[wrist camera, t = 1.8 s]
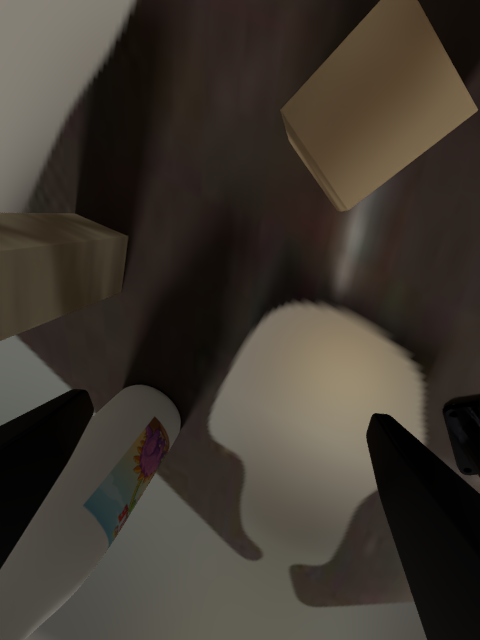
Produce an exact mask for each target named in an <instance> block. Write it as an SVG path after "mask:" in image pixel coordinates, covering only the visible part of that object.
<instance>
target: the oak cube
mask: <svg viewBox="0 0 480 640" xmlns="http://www.w3.org/2000/svg"><path fill="white" fill-rule="evenodd" d="M280 111H281V114H282V117H283V121H284V124H285V128H286V131H287V135H288V138H289V142H290V143H291V145H292V146H293V147H294V149H295V150H296V152H297V153H298V155H299V156H300V158H301V159H302V161H303V162H304V163H305V165H306V166H307V168H308V169H309V171H310V172H311V174H312V175H313V177H314V178H315V179H316V181H317V182H318V184H319V185H320V187H321V188H322V190H323V191H324V193H325V194H326V195H327V197H328V198H329V200H330V201H331V203H332V204H333V206H334V207H335V208H336V210H337V211H338V212H340V211H347V210H350V209H351V208H352V207H353V206H355V205H356V204H357V203H359V202H360V201H361V200H363V199H364V198H365V197H366V196H368V195H369V194H370V193H372V192H373V191H374V190H375V189H377V188H378V187H379V186H381V185H382V184H383V183H385V182H386V181H387V180H388V179H390V178H391V177H392V176H394V175H395V174H396V173H398V172H399V171H400V170H401V169H403V168H404V167H405V166H407V165H408V164H409V163H411V162H412V161H413V160H414V159H416V158H417V157H418V156H420V155H421V154H422V153H423V152H425V151H426V150H427V149H429V148H430V147H431V146H433V145H434V144H435V143H436V142H438V141H439V140H440V139H442V138H443V137H444V136H446V135H447V134H448V133H449V132H451V131H452V130H453V129H455V128H456V127H457V126H459V125H460V124H461V123H462V122H464V121H465V120H466V119H468V118H469V117H470V116H472V115H473V114H474V113H475V112H477V111H478V109H477V107H476V105H475V104H474V102H473V100H472V98H471V96H470V94H469V93H468V91H467V89H466V87H465V85H464V84H463V82H462V80H461V78H460V76H459V74H458V73H457V71H456V69H455V67H454V65H453V64H452V62H451V60H450V58H449V56H448V54H447V53H446V51H445V49H444V47H443V45H442V44H441V42H440V40H439V38H438V36H437V34H436V33H435V31H434V29H433V27H432V25H431V24H430V22H429V20H428V18H427V16H426V14H425V13H424V11H423V9H422V7H421V5H420V4H419V2H418V0H380V1H379V2H378V3H377V5H376V6H375V7H374V8H373V9H372V10H371V11H370V12H369V13H368V14H367V16H366V17H365V18H364V19H363V20H362V21H361V22H360V23H359V24H358V25H357V27H356V28H355V29H354V30H353V31H352V32H351V33H350V34H349V35H348V36H347V38H346V39H345V40H344V41H343V42H342V43H341V44H340V45H339V46H338V47H337V49H336V50H335V51H334V52H333V53H332V54H331V55H330V56H329V57H328V59H327V60H326V61H325V62H324V63H323V64H322V65H321V66H320V67H319V68H318V70H317V71H316V72H315V73H314V74H313V75H312V76H311V77H310V78H309V79H308V81H307V82H306V83H305V84H304V85H303V86H302V87H301V88H300V89H299V90H298V92H297V93H296V94H295V95H294V96H293V97H292V98H291V99H290V100H289V101H288V103H287V104H286V105H285V106H284V107H283V108H282V109H281V110H280Z"/></svg>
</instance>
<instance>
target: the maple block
mask: <svg viewBox="0 0 480 640" xmlns="http://www.w3.org/2000/svg"><path fill="white" fill-rule="evenodd" d="M127 243H128V236H126V235H124V234H122V233H119V232H117V231H115V230H112V229H110V228H108V227H105V226H103V225H101V224H98V223H96V222H94V221H91V220H89V219H87V218H84V217H82V216H80V215H77V214H74V213H0V341H1V340H4V339H6V338H8V337H11V336H14V335H16V334H19V333H21V332H24V331H26V330H29V329H31V328H33V327H36V326H38V325H41V324H43V323H46V322H48V321H51V320H53V319H56V318H58V317H61V316H63V315H66V314H68V313H71V312H73V311H76V310H78V309H81V308H83V307H86V306H88V305H91V304H93V303H95V302H98V301H100V300H103V299H105V298H108V297H110V296H113V295H115V294H118V293H120V292H121V291H122V283H123V275H124V267H125V259H126V251H127Z"/></svg>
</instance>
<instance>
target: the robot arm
mask: <svg viewBox="0 0 480 640" xmlns="http://www.w3.org/2000/svg"><path fill="white" fill-rule="evenodd" d="M451 412H454V413H451ZM93 413H94V407H93V404H92V401H91V399H90V396H89V394H88V392H87V391H86V390H81V389H73V390H70V391H68V392H66V393H64V394H62V395H60V396H58V397H56V398H54V399H52V400H50V401H48V402H46V403H45V404H43V405H41V406H39V407H37V408H35V409H33V410H31V411H29V412H27V413H25V414H23V415H21V416H19V417H17V418H15V419H13V420H11V421H9V422H7V423H5V424H3V425H1V426H0V569H1V568H2V566H3V565H4V563H5V561H6V560H7V558H8V557H9V555H10V554H11V552H12V550H13V549H14V547H15V546H16V544H17V542H18V541H19V539H20V538H21V536H22V535H23V533H24V531H25V530H26V528H27V527H28V525H29V523H30V522H31V520H32V519H33V517H34V516H35V514H36V512H37V511H38V509H39V508H40V506H41V504H42V503H43V501H44V500H45V498H46V497H47V495H48V493H49V492H50V490H51V489H52V487H53V485H54V484H55V482H56V481H57V479H58V478H59V476H60V474H61V473H62V471H63V470H64V468H65V466H66V465H67V463H68V461H69V460H70V458H71V456H72V454H73V452H74V450H75V448H76V446H77V445H78V443H79V441H80V439H81V437H82V435H83V433H84V431H85V429H86V427H87V425H88V423H89V421H90V419H91V418H92V415H93ZM443 415H444V419H445V423H446V427H447V430H448V434H449V438H450V442H451V445H452V449H453V453H454V456H455V460H456V464H457V467H458V469H459V470H460V472H461V473H462V474H465V475H477V474H478V475H479V477H480V401H475V402H469V403H462V404H455V405H449V406H446V407H444V408H443ZM366 438H367V443H368V448H369V453H370V457H371V461H372V466H373V470H374V475H375V479H376V483H377V488H378V492H379V496H380V499H381V503H382V506H383V509H384V512H385V515H386V518H387V521H388V524H389V527H390V530H391V533H392V536H393V539H394V542H395V545H396V548H397V551H398V554H399V557H400V560H401V563H402V566H403V569H404V572H405V575H406V578H407V581H408V584H409V587H410V590H411V593H412V596H413V599H414V602H415V605H416V607H417V611H418V614H419V617H420V619H421V623H422V626H423V629H424V632H425V635H426V638H427V640H480V494H479V493H478V492H477V491H476V490H475V489H474V488H473V487H471V486H470V485H469V484H468V483H467V482H466V481H465V480H463V479H462V478H461V477H460V476H459V475H458V474H457V473H455V472H454V471H453V470H452V469H451V468H450V467H449V466H447V465H446V464H445V463H444V462H443V461H442V460H441V459H439V458H438V457H437V456H436V455H435V454H434V453H433V452H431V451H430V450H429V449H428V448H427V447H426V446H425V445H423V444H422V443H421V442H420V441H419V440H418V439H417V438H415V437H414V436H413V435H412V434H411V433H410V432H409V431H407V430H406V429H405V428H404V427H403V426H402V425H401V424H399V423H398V422H397V421H396V420H395V419H394V418H393V417H391V416H390V415H387V414H378V413H375V414H373V415H372V417H371V420H370V423H369V426H368V430H367V434H366Z"/></svg>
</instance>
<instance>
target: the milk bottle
mask: <svg viewBox="0 0 480 640" xmlns="http://www.w3.org/2000/svg"><path fill="white" fill-rule="evenodd" d="M180 426H181V419H180V415H179V412H178V410H177V408H176V406H175V405H174V403H173V402H172V401H171V400H170V399H169V398H168V397H167V396H166V395H165V394H163V393H162V392H161V391H159V390H157V389H155V388H153V387H150V386H146V385H133V386H129V387H126V388H124V389H123V390H122V391H121V392H119V393H118V394H117V395H116V396H115V397H114V398H113V399H111V400H110V401H109V402H108V403H107V404H106V405H105V406H104V407H103V408H102V409H101V410H99V411H98V412H97V413H96V414H95V415H94V416H93V417H92V418H91V419H90V421H89V423H88V425H87V427H86V429H85V431H84V433H83V435H82V437H81V439H80V441H79V443H78V445H77V446H76V448H75V450H74V452H73V454H72V456H71V458H70V460H69V461H68V463H67V465H66V466H65V468H64V470H63V471H62V473H61V474H60V476H59V478H58V479H57V481H56V482H55V484H54V485H53V487H52V489H51V490H50V492H49V493H48V495H47V497H46V498H45V500H44V501H43V503H42V504H41V506H40V508H39V509H38V511H37V512H36V514H35V516H34V517H33V519H32V520H31V522H30V523H29V525H28V527H27V528H26V530H25V531H24V533H23V535H22V536H21V538H20V539H19V541H18V542H17V544H16V546H15V547H14V549H13V550H12V552H11V554H10V555H9V557H8V558H7V560H6V561H5V563H4V565H3V566H2V568H1V569H0V640H25V639H26V638H27V637H28V636H29V635H30V634H32V632H34V631H35V630H36V629H37V628H38V627H39V626H40V625H41V624H42V623H43V622H44V621H46V619H48V618H49V617H50V616H51V615H52V614H53V613H54V612H55V611H57V610H58V609H59V608H60V607H61V606H62V605H63V604H64V603H65V602H66V601H67V600H68V599H69V598H70V597H71V596H72V595H73V594H74V593H75V592H76V591H77V590H78V589H79V587H80V586H81V585H82V584H83V583H84V581H85V580H86V579H87V578H88V577H89V575H90V574H91V573H92V571H93V570H94V569H95V567H96V566H97V565H98V563H99V562H100V560H101V559H102V557H103V556H104V554H105V553H106V551H107V550H108V548H109V547H110V545H111V544H112V542H113V541H114V539H115V537H116V536H117V534H118V533H119V531H120V530H121V528H122V526H123V525H124V523H125V522H126V520H127V518H128V517H129V515H130V513H131V512H132V510H133V509H134V507H135V505H136V504H137V502H138V500H139V499H140V497H141V496H142V494H143V492H144V491H145V489H146V487H147V486H148V484H149V483H150V481H151V479H152V478H153V476H154V474H155V473H156V471H157V469H158V468H159V466H160V464H161V463H162V461H163V459H164V458H165V456H166V454H167V453H168V451H169V449H170V448H171V446H172V444H173V443H174V441H175V439H176V438H177V436H178V434H179V432H180Z"/></svg>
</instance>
